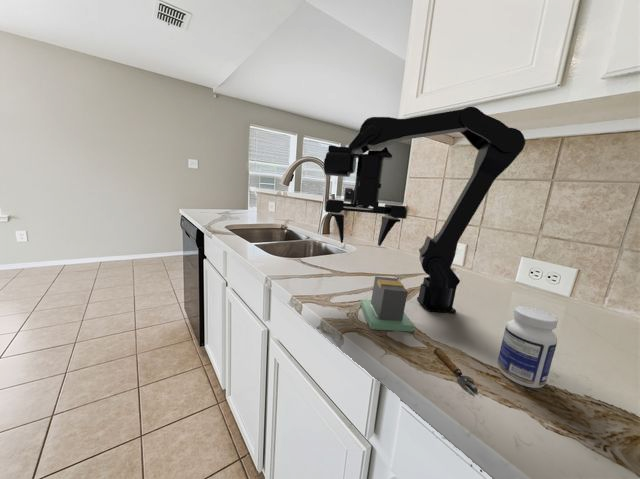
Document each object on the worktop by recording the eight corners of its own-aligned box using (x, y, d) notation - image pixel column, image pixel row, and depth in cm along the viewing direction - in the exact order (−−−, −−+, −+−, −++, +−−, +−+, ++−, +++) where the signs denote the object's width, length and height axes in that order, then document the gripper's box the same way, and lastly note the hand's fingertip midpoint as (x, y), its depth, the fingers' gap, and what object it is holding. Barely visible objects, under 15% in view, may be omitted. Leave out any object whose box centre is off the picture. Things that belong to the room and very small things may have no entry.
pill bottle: (522, 362, 40) (537, 305, 38) (556, 391, 35) (576, 324, 33) (487, 360, 40) (501, 302, 38) (515, 389, 34) (534, 322, 32)
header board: (360, 304, 56) (362, 288, 55) (395, 307, 56) (398, 291, 56) (370, 329, 46) (373, 310, 46) (413, 331, 47) (416, 313, 46)
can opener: (432, 353, 41) (434, 346, 41) (446, 354, 41) (447, 347, 41) (467, 398, 32) (469, 390, 32) (484, 399, 33) (486, 391, 32)
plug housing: (370, 302, 54) (375, 275, 53) (391, 304, 55) (396, 277, 53) (378, 319, 48) (384, 288, 46) (402, 321, 48) (408, 290, 47)
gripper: (396, 182, 67) (388, 240, 70) (326, 176, 66) (321, 235, 69) (413, 181, 56) (402, 250, 59) (329, 174, 55) (322, 243, 58)
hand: (360, 244), depth 61 cm, fingers open, 9 cm apart
